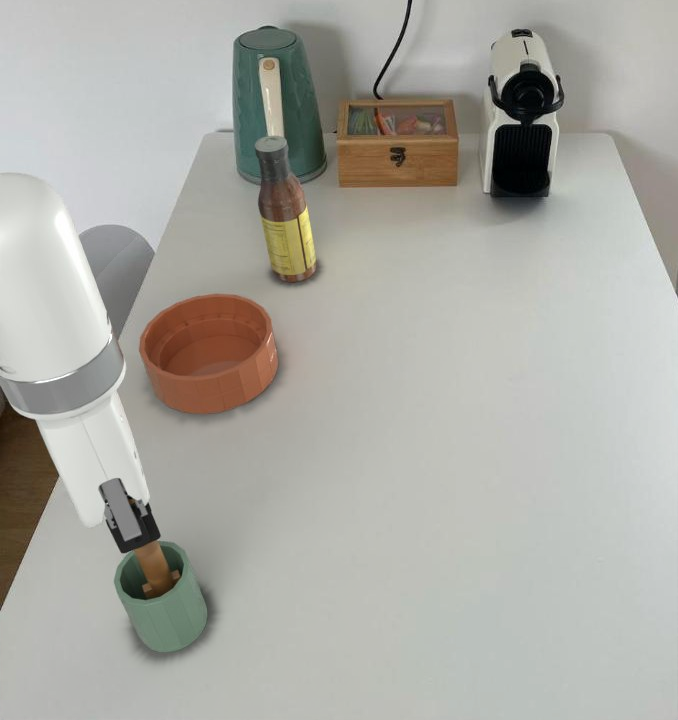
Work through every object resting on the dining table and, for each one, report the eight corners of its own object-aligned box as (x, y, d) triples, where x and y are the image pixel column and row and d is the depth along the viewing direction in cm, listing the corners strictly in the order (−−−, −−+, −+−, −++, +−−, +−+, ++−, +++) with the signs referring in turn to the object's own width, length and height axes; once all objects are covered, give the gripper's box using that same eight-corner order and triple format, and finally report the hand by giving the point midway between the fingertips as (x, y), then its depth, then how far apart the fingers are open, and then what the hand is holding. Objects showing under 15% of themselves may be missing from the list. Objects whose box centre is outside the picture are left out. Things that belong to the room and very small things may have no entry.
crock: (148, 665, 71) (124, 617, 65) (131, 608, 75) (106, 559, 70) (216, 633, 73) (198, 584, 67) (195, 579, 77) (176, 529, 72)
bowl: (172, 435, 91) (159, 397, 87) (137, 356, 101) (125, 319, 97) (297, 387, 96) (291, 349, 92) (253, 316, 106) (245, 279, 102)
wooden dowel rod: (154, 616, 71) (100, 503, 60) (148, 598, 72) (94, 485, 61) (190, 599, 72) (143, 486, 61) (183, 582, 73) (136, 468, 62)
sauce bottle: (300, 252, 116) (281, 123, 102) (326, 272, 112) (310, 140, 99) (262, 271, 113) (237, 140, 100) (286, 291, 109) (264, 159, 96)
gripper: (-17, 314, 56) (69, 481, 69) (19, 468, 46) (113, 633, 58) (92, 280, 59) (156, 447, 71) (150, 419, 48) (213, 587, 61)
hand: (136, 530), depth 65 cm, fingers closed on wooden dowel rod, 2 cm apart
